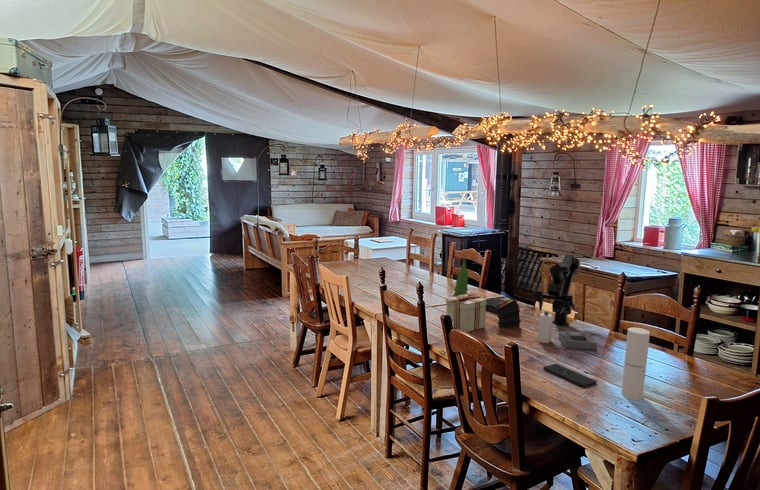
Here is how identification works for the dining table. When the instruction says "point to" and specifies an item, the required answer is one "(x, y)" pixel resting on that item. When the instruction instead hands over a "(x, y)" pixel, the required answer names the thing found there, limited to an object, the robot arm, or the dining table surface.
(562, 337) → the block
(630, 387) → the cylindrical container
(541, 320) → the white upright cylinder
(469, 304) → the gift box
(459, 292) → the decorative tree
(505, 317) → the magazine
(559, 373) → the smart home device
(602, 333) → the dining table surface
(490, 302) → the portable cd player
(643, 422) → the dining table surface
